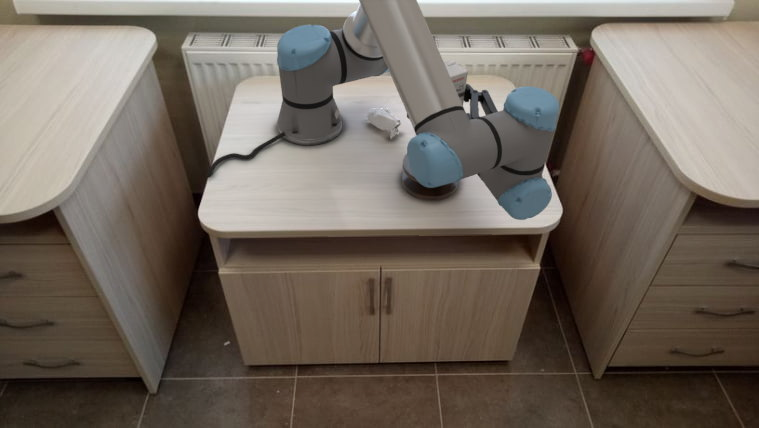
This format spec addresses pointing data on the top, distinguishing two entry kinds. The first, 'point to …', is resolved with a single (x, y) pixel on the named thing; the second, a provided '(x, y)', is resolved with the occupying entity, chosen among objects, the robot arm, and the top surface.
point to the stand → (421, 191)
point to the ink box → (457, 77)
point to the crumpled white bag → (384, 120)
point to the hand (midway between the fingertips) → (430, 83)
